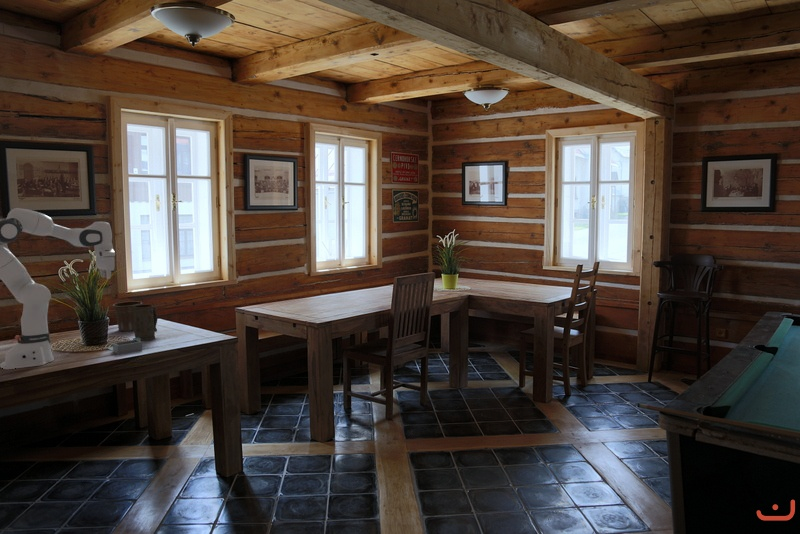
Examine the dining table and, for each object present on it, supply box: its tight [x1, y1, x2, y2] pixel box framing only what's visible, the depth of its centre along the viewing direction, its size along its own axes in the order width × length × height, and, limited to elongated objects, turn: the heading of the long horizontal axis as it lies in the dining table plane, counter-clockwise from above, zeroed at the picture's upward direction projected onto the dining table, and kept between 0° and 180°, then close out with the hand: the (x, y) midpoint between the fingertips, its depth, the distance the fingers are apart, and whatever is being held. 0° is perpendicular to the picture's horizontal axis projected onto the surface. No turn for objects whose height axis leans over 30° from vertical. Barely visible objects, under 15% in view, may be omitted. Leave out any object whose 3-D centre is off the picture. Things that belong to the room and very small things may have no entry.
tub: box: [112, 339, 143, 355], centre depth 320 cm, size 12×8×5 cm, turn 131°
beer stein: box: [133, 304, 159, 343], centre depth 349 cm, size 15×11×20 cm
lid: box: [106, 337, 141, 352], centre depth 329 cm, size 16×8×4 cm, turn 131°
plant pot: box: [112, 300, 143, 333], centre depth 376 cm, size 16×16×16 cm
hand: (105, 278), depth 329 cm, fingers open, 8 cm apart
